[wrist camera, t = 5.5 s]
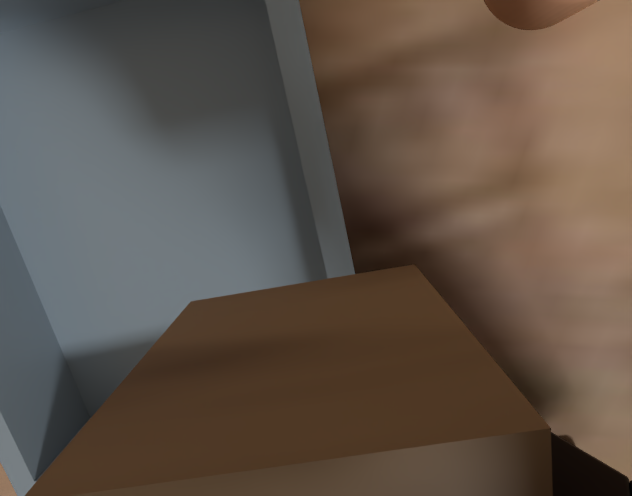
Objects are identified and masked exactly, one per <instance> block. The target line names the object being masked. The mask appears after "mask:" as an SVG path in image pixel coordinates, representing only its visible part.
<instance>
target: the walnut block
mask: <svg viewBox="0 0 632 496" xmlns="http://www.w3.org/2000/svg"><path fill="white" fill-rule="evenodd" d="M25 496H553V487H552V454H551V428H550V427H549V426H548V424H547V423H546V422H545V421H544V420H543V418H542V417H541V416H540V415H539V413H538V412H537V411H536V410H535V409H534V407H533V406H532V405H531V404H530V403H529V401H528V400H527V399H526V398H525V397H524V395H523V394H522V393H521V392H520V391H519V389H518V388H517V387H516V386H515V385H514V383H513V382H512V381H511V380H510V379H509V377H508V376H507V375H506V374H505V373H504V371H503V370H502V369H501V368H500V367H499V365H498V364H497V363H496V362H495V361H494V359H493V358H492V357H491V356H490V355H489V353H488V352H487V351H486V350H485V349H484V347H483V346H482V345H481V344H480V342H479V341H478V340H477V339H476V338H475V336H474V335H473V334H472V333H471V332H470V330H469V329H468V328H467V327H466V326H465V324H464V323H463V322H462V321H461V320H460V318H459V317H458V316H457V315H456V314H455V312H454V311H453V310H452V309H451V308H450V306H449V305H448V304H447V303H446V302H445V300H444V299H443V298H442V297H441V296H440V294H439V293H438V292H437V291H436V290H435V288H434V287H433V286H432V285H431V284H430V282H429V281H428V280H427V279H426V277H425V276H424V275H423V274H422V273H421V271H420V270H419V269H418V268H417V267H416V265H415V264H413V265H407V266H401V267H395V268H389V269H383V270H377V271H371V272H365V273H359V274H353V275H347V276H341V277H335V278H329V279H323V280H317V281H311V282H305V283H299V284H293V285H287V286H281V287H275V288H268V289H262V290H256V291H250V292H244V293H238V294H232V295H226V296H220V297H214V298H208V299H202V300H196V301H191V302H190V303H189V304H188V305H187V306H186V307H185V309H184V310H183V311H182V312H181V313H180V315H179V316H178V317H177V318H176V319H175V320H174V322H173V323H172V324H171V325H170V326H169V327H168V329H167V330H166V331H165V332H164V333H163V334H162V336H161V337H160V338H159V339H158V340H157V341H156V343H155V344H154V345H153V346H152V347H151V348H150V350H149V351H148V352H147V353H146V354H145V355H144V357H143V358H142V359H141V360H140V361H139V362H138V364H137V365H136V366H135V367H134V368H133V369H132V371H131V372H130V373H129V374H128V375H127V376H126V378H125V379H124V380H123V381H122V382H121V383H120V385H119V386H118V387H117V388H116V389H115V390H114V392H113V393H112V394H111V395H110V396H109V397H108V399H107V400H106V401H105V402H104V403H103V404H102V406H101V407H100V408H99V409H98V410H97V412H96V413H95V414H94V415H93V416H92V417H91V419H90V420H89V421H88V422H87V423H86V424H85V426H84V427H83V428H82V429H81V430H80V431H79V433H78V434H77V435H76V436H75V437H74V438H73V440H72V441H71V442H70V443H69V444H68V445H67V447H66V448H65V449H64V450H63V451H62V452H61V454H60V455H59V456H58V457H57V458H56V459H55V461H54V462H53V463H52V464H51V465H50V466H49V468H48V469H47V470H46V471H45V472H44V473H43V475H42V476H41V477H40V478H39V479H38V480H37V482H36V483H35V484H34V485H33V486H32V487H31V489H30V490H29V491H28V492H27V493H26V494H25Z"/></svg>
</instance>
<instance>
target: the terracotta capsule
mask: <svg viewBox="0 0 632 496" xmlns="http://www.w3.org/2000/svg"><path fill="white" fill-rule="evenodd" d="M597 1H599V0H484V2H485V3H486V5H487V7H488V8H489V10H490V11H491V12H492V13H493V14H494V15H495V16H496V17H497V18H498V19H499V20H500V21H502V22H504V23H505V24H507V25H509V26H511V27H514V28H518V29H523V30H538V29H543V28H547V27H550V26H552V25H555V24H557V23H559V22H561V21H563V20H564V19H566V18H568V17H570V16H572V15H574V14H575V13H577V12H579V11H581V10H583V9H585V8H586V7H588V6H590V5H592V4H594V3H596V2H597Z"/></svg>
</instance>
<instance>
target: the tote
mask: <svg viewBox="0 0 632 496" xmlns="http://www.w3.org/2000/svg"><path fill="white" fill-rule="evenodd" d="M353 274H355V271H354V266H353V261H352V256H351V251H350V246H349V242H348V237H347V232H346V227H345V222H344V217H343V212H342V208H341V203H340V198H339V193H338V188H337V183H336V179H335V174H334V169H333V164H332V159H331V154H330V149H329V145H328V140H327V135H326V130H325V125H324V120H323V116H322V111H321V106H320V101H319V96H318V91H317V86H316V82H315V77H314V72H313V67H312V62H311V57H310V52H309V48H308V43H307V38H306V33H305V28H304V23H303V19H302V14H301V9H300V4H299V0H0V462H1V464H2V466H3V468H4V470H5V472H6V474H7V476H8V478H9V480H10V482H11V484H12V486H13V488H14V490H15V492H16V494H17V496H25V494H26V493H27V492H28V491H29V490H30V489H31V487H32V486H33V485H34V484H35V483H36V482H37V480H38V479H39V478H40V477H41V476H42V475H43V473H44V472H45V471H46V470H47V469H48V468H49V466H50V465H51V464H52V463H53V462H54V461H55V459H56V458H57V457H58V456H59V455H60V454H61V452H62V451H63V450H64V449H65V448H66V447H67V445H68V444H69V443H70V442H71V441H72V440H73V438H74V437H75V436H76V435H77V434H78V433H79V431H80V430H81V429H82V428H83V427H84V426H85V424H86V423H87V422H88V421H89V420H90V419H91V417H92V416H93V415H94V414H95V413H96V412H97V410H98V409H99V408H100V407H101V406H102V404H103V403H104V402H105V401H106V400H107V399H108V397H109V396H110V395H111V394H112V393H113V392H114V390H115V389H116V388H117V387H118V386H119V385H120V383H121V382H122V381H123V380H124V379H125V378H126V376H127V375H128V374H129V373H130V372H131V371H132V369H133V368H134V367H135V366H136V365H137V364H138V362H139V361H140V360H141V359H142V358H143V357H144V355H145V354H146V353H147V352H148V351H149V350H150V348H151V347H152V346H153V345H154V344H155V343H156V341H157V340H158V339H159V338H160V337H161V336H162V334H163V333H164V332H165V331H166V330H167V329H168V327H169V326H170V325H171V324H172V323H173V322H174V320H175V319H176V318H177V317H178V316H179V315H180V313H181V312H182V311H183V310H184V309H185V307H186V306H187V305H188V304H189V303H190V302H191V301H196V300H202V299H208V298H214V297H220V296H226V295H232V294H238V293H244V292H250V291H256V290H262V289H268V288H275V287H281V286H287V285H293V284H299V283H305V282H311V281H317V280H323V279H329V278H335V277H341V276H347V275H353Z"/></svg>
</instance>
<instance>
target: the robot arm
mask: <svg viewBox="0 0 632 496" xmlns="http://www.w3.org/2000/svg"><path fill="white" fill-rule="evenodd" d="M551 454H552V487H553V496H632V481H630V483H629V479H628V477H627V476H625V475H623V474H622V473H620V472H618V471H617V470H615V469H613V468H611V467H610V466H608V465H606V464H605V463H603V462H601V461H600V460H598V459H596V458H594V457H593V456H591V455H589V454H588V453H586V452H584V451H582V450H581V449H579V448H577V447H576V446H574V445H572V444H571V443H569V442H567V441H565V440H564V439H562V438H560V437H559V436H557V435H555V434H554V433H552V432H551Z"/></svg>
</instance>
